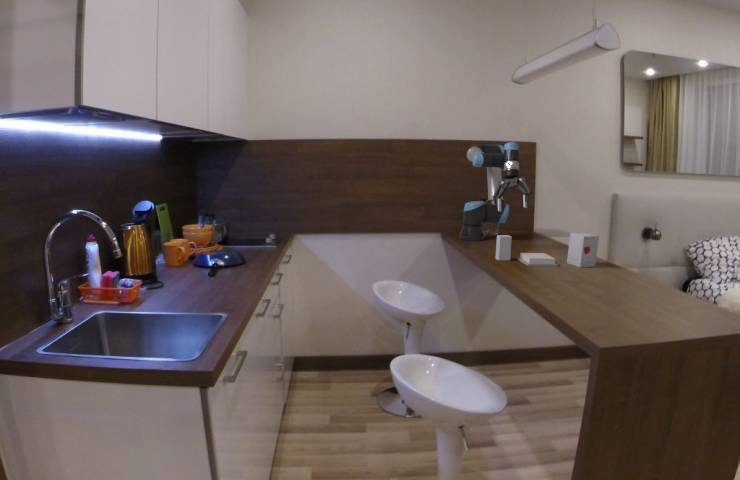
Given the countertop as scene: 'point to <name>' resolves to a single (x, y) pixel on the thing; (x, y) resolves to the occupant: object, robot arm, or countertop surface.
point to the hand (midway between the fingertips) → (512, 209)
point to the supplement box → (582, 249)
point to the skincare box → (503, 247)
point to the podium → (537, 259)
